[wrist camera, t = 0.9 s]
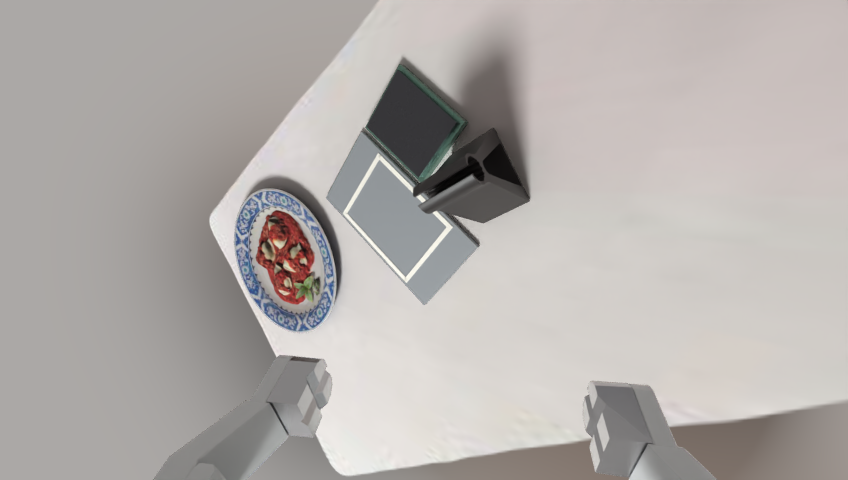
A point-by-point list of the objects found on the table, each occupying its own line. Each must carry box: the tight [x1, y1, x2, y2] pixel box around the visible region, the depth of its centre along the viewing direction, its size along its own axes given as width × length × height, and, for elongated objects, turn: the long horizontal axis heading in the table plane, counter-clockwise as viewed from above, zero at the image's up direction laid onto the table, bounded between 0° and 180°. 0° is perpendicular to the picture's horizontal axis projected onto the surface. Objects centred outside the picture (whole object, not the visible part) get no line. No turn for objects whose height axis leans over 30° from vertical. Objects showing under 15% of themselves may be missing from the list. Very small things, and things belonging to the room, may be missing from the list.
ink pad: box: [365, 64, 468, 182], centre depth 43 cm, size 9×11×2 cm
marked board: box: [326, 132, 479, 305], centre depth 48 cm, size 12×22×1 cm, turn 52°
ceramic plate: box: [234, 188, 337, 333], centre depth 61 cm, size 26×26×3 cm
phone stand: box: [413, 128, 530, 223], centre depth 35 cm, size 9×6×12 cm, turn 31°
